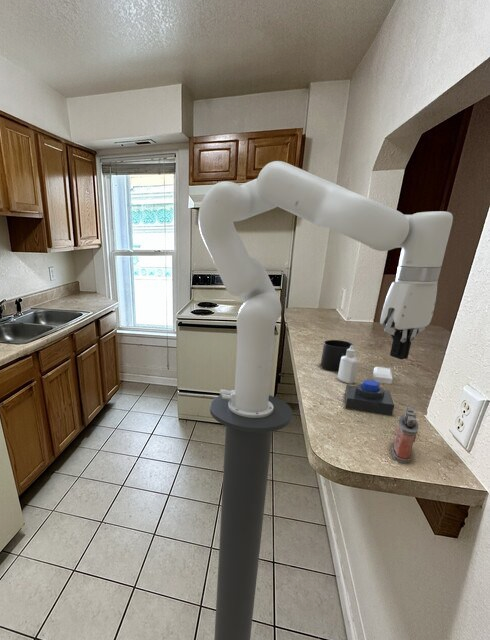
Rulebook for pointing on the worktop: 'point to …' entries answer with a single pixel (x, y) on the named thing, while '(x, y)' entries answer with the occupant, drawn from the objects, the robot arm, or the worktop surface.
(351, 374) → the eye dropper bottle
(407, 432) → the lighter
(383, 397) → the button housing
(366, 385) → the blue button cap
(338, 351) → the mug
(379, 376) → the soap bar
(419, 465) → the worktop surface
